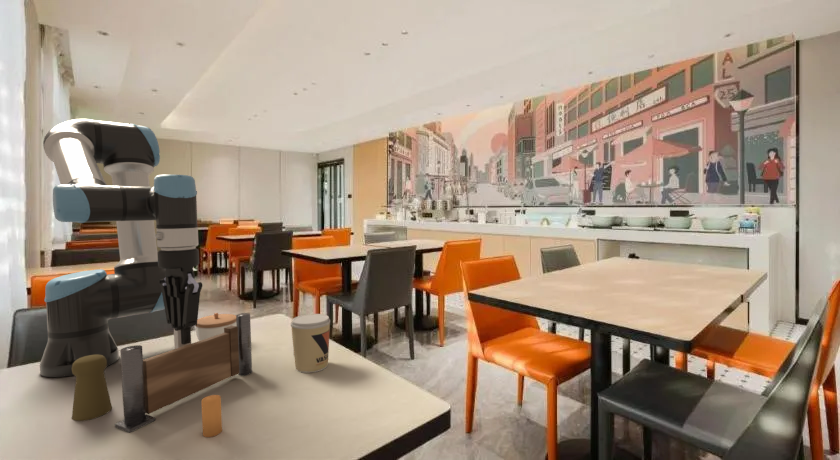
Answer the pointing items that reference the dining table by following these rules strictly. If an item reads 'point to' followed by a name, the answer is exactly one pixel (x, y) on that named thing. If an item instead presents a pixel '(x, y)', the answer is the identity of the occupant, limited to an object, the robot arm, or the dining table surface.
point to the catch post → (211, 415)
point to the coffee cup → (310, 342)
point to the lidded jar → (214, 325)
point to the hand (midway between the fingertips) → (183, 357)
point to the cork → (90, 388)
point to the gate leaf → (190, 369)
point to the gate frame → (135, 376)
